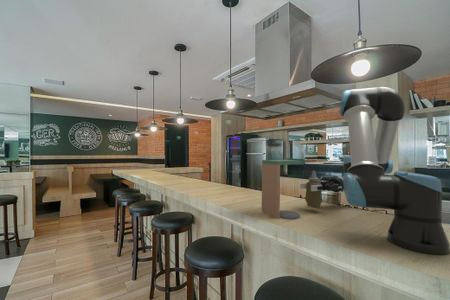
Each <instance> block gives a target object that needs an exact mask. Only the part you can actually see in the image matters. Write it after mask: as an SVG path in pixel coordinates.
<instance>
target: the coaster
mask: <svg viewBox="0 0 450 300" xmlns="http://www.w3.org/2000/svg"><path fill="white" fill-rule="evenodd" d="M280 219H285V220H297V219H301V214H300V213H299V212H297V211H293V210H281V209H280Z"/></svg>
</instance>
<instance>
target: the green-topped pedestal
mask: <svg viewBox="0 0 450 300" xmlns="http://www.w3.org/2000/svg"><path fill="white" fill-rule="evenodd" d="M305 161H306V159H305V158H288V157H287V158H286V159H261V213H262V214H265V215H267V216H270V217H272V218H274V219H276V220H279V219H281V218H280V211H281V206H280V205H281V204H280V203H281V166H283V165H285V166H289V165H291V166H292V165H306V162H305Z"/></svg>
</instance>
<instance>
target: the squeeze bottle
mask: <svg viewBox="0 0 450 300" xmlns="http://www.w3.org/2000/svg"><path fill="white" fill-rule="evenodd" d="M311 172H312V173H311V177H308V181H306V183H307V187H306V189H305V197H304V199H305V202H306V206H307V207H309V208H315V209H317V208H320V207H321V206H322V203H323V193H322V190H321V191H311V185H321V183H320V182H318V181H320V180H319V179H320V177H317V174H316V173H317V172H316V170H312V171H311Z"/></svg>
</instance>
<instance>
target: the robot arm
mask: <svg viewBox="0 0 450 300" xmlns="http://www.w3.org/2000/svg"><path fill="white" fill-rule="evenodd" d="M340 101H341V102H340V109H339V116H340V117H343V120H344V121H345V122H347V125H348V139H349V140H348V141H349V153H350V155H347V154H346V155H344V156H343V163H342V164H343V172H342V173H343V176H340V177H339V176H338V177H331V178H329V180H325V181H321V180H319V181H318V182H320V183H321V185H311V191H321V192H322V191H327V192H334V193H339V192H341V193H344V195H345V198H346V199H345V200H346V201H347V203H348V204H349V205H351V206H353V207H361V208H368V209H370V208H372V209H381V210H389V211H390V210H392V211H394V212H393V214H394V215H393V218H392V221H391V223H390V225H389V227H388V230H387V240H388V241H389V242H391V243H392V244H394V245H396V246H399V247H401V248H403V249H407V250H410V251H414V252H418V253H423V254H430V255H447V254H449V253H450V242H449V239H448V237H447V235H446V232H445V229H444V227H443V224H442V216H443V215H442V210H443V209H442V208H443V203H442V202H443V190H442V182H441V179H440V178H439V177H436V176H432V175H427V174H422V173H415V172H407V171H399V170H395V171H394V173H393V170H394V164H393V163H394V162H393V160H392V159H390V158H391V155H392V154H391V153H392V151H393V148H394V147H393V146H394V144H395V143H394V142H395V139H396V135H397V131H398V127H399V124H400V121H401V120H402V119H404V115H405V113H406V112H405V110H406V107H405V106H406V105H405V102H404V99H403V97H402V96H401V95H400V94H399V92H397V91H396V90H395V89H393V88H392V87H388V86H377V87H365V88H355V89H354V88H352V89H347V90H343V92H342V95H341V99H340ZM375 116H376V118H377V119H378V122H377V125H376V132H375V133H374V127H373V126H374V125H373V118H374V117H375ZM391 173H393V174H391ZM299 185H300V186H299V188H300V189H301V190H303V189H305V190H306V187H307V182H300V183H299Z"/></svg>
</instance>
